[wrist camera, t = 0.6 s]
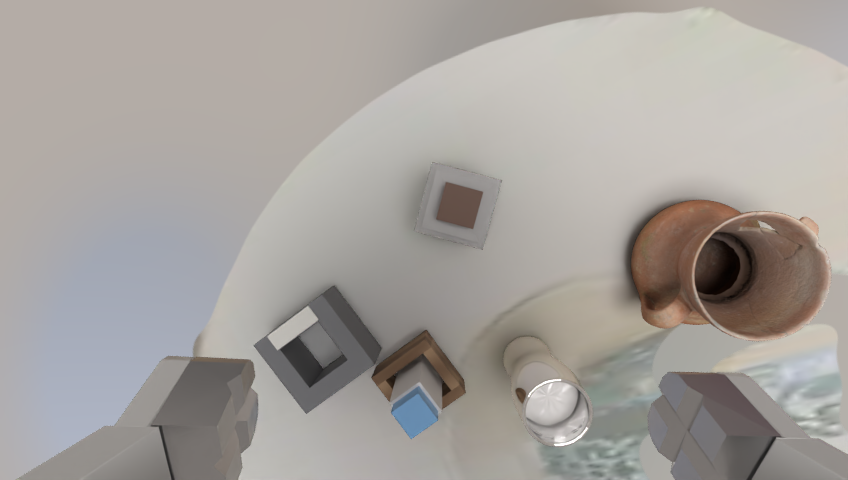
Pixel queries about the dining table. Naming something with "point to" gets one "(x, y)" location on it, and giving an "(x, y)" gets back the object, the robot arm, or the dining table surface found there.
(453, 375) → the holster
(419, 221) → the perfume bottle
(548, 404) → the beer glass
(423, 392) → the plug
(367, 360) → the port
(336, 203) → the dining table surface
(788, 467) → the robot arm
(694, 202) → the ceramic jug
